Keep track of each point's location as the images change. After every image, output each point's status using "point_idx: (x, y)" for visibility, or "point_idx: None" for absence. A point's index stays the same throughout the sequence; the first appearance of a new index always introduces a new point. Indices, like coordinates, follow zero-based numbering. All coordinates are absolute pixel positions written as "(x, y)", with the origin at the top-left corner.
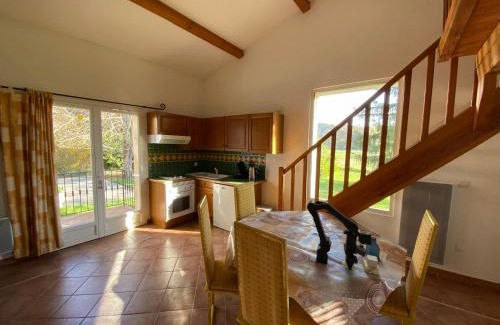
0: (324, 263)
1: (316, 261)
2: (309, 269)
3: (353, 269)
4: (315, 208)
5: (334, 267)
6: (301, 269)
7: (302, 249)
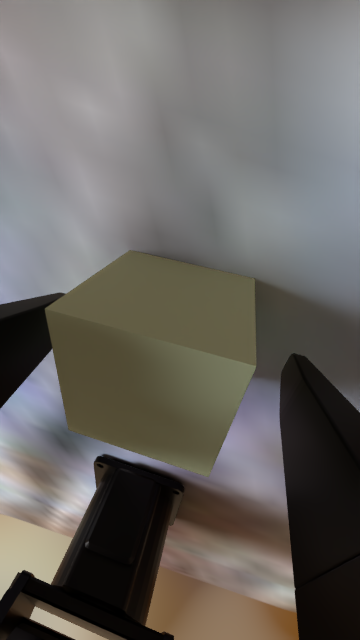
0: (182, 496)
1: (172, 524)
2: (271, 568)
3: (254, 285)
4: None
5: (221, 453)
6: (274, 588)
7: (57, 511)
